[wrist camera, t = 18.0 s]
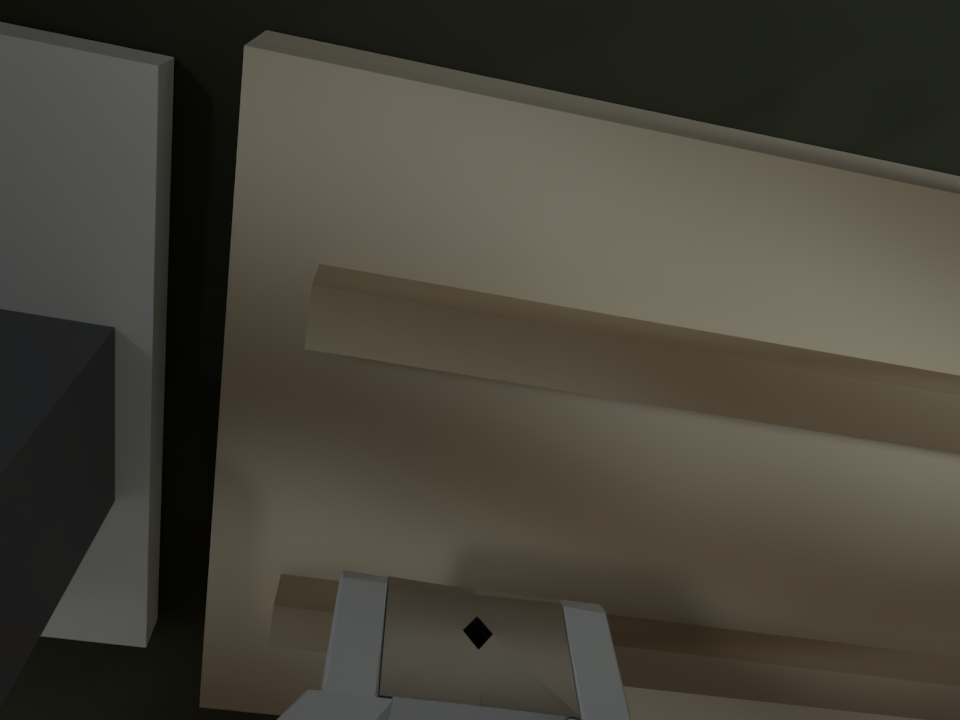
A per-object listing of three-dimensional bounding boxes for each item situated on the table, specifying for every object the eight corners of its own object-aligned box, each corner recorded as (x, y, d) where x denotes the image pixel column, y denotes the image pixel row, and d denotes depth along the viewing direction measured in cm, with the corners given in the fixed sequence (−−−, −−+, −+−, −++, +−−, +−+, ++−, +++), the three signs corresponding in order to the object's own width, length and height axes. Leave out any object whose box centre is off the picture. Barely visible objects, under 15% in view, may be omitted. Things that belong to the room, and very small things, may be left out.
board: (266, 29, 9) (230, 54, 8) (1369, 263, 11) (1519, 320, 10) (217, 647, 14) (188, 741, 12) (1004, 733, 16) (1066, 824, 14)
